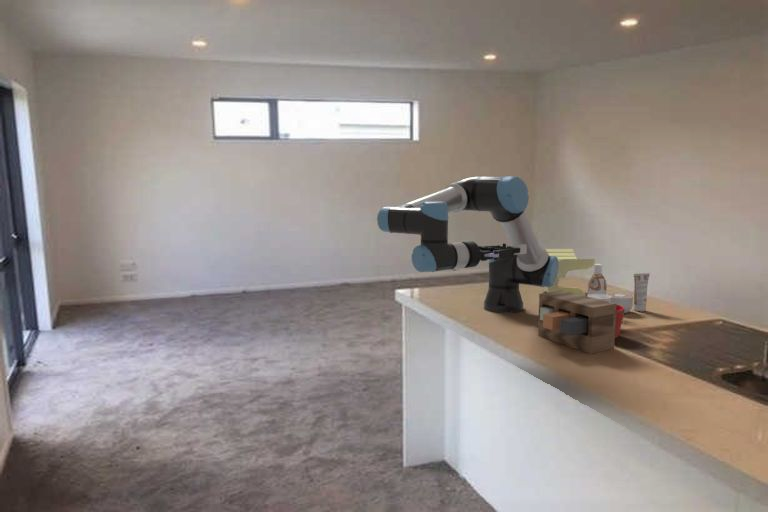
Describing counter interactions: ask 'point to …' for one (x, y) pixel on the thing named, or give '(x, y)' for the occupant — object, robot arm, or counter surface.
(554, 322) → the rust key
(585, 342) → the box
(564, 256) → the slatted curved stool
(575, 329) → the slate key
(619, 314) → the flower pot
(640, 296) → the cosmetic set
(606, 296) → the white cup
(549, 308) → the sage key
